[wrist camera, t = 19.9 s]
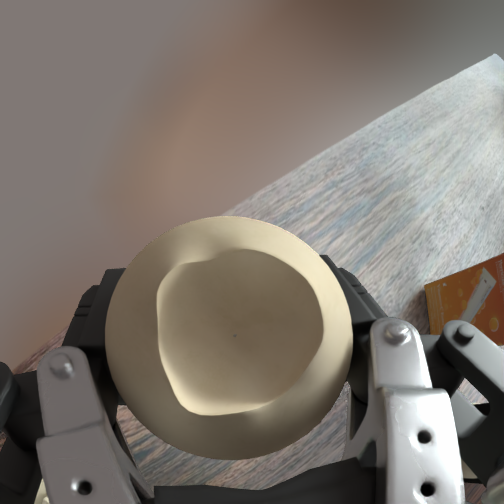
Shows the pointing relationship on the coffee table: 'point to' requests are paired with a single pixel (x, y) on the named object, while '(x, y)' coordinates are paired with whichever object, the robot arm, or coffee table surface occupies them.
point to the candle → (228, 338)
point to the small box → (470, 299)
